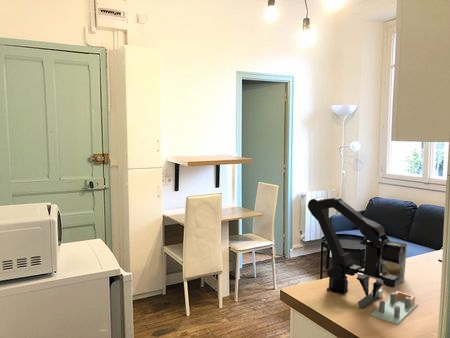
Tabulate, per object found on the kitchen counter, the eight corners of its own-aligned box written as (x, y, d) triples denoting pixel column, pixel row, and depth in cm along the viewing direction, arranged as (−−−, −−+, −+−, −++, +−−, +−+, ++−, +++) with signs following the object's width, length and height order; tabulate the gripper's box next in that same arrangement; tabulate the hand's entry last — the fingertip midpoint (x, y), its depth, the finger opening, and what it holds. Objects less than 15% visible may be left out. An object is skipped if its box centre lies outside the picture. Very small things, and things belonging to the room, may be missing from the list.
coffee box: (380, 278, 164) (382, 243, 163) (382, 273, 170) (385, 239, 168) (403, 283, 160) (405, 246, 158) (404, 278, 165) (407, 243, 163)
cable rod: (355, 306, 136) (355, 300, 136) (374, 292, 148) (374, 287, 148) (363, 309, 134) (364, 303, 134) (382, 295, 146) (383, 289, 146)
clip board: (371, 315, 130) (371, 304, 130) (393, 297, 145) (393, 287, 145) (397, 324, 124) (398, 313, 124) (417, 304, 139) (418, 294, 139)
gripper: (406, 258, 139) (403, 298, 141) (358, 247, 152) (356, 284, 154) (395, 266, 131) (392, 308, 133) (346, 253, 144) (343, 291, 146)
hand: (370, 297), depth 142 cm, fingers closed on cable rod, 2 cm apart
